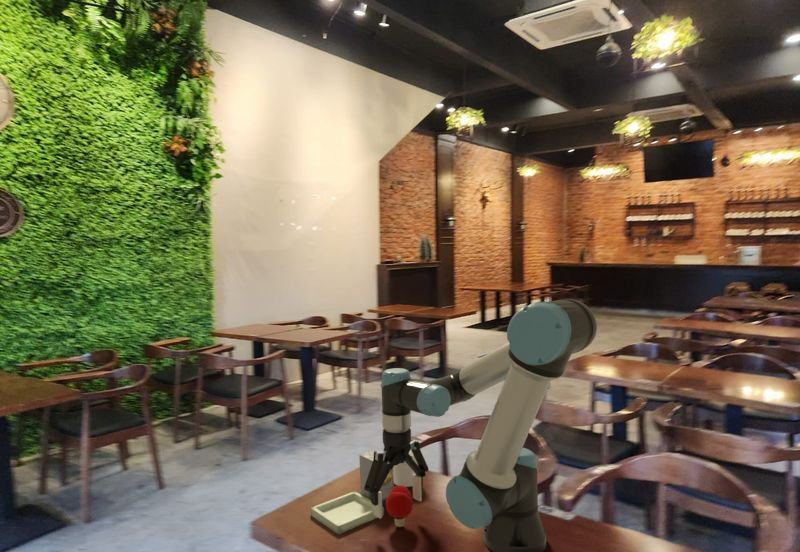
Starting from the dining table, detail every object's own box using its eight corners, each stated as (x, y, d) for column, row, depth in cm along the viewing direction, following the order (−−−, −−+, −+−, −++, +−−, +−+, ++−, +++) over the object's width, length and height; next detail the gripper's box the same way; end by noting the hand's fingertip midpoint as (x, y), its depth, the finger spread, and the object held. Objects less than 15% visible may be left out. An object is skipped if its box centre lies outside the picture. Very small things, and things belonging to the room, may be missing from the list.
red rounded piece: (409, 537, 130) (408, 498, 130) (382, 535, 132) (381, 496, 132) (415, 519, 139) (414, 482, 139) (390, 517, 141) (389, 481, 141)
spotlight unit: (396, 501, 151) (395, 457, 150) (378, 508, 146) (376, 463, 146) (376, 490, 158) (374, 448, 158) (357, 497, 154) (356, 454, 153)
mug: (417, 490, 157) (416, 456, 157) (389, 488, 159) (388, 455, 159) (424, 475, 168) (423, 444, 168) (397, 474, 170) (396, 443, 170)
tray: (384, 515, 142) (383, 507, 142) (338, 534, 133) (338, 526, 133) (354, 498, 153) (354, 491, 153) (310, 515, 143) (310, 507, 143)
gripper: (421, 415, 146) (423, 488, 147) (349, 435, 130) (351, 518, 131) (440, 421, 140) (441, 497, 141) (367, 443, 124) (368, 529, 125)
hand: (398, 507), depth 136 cm, fingers open, 13 cm apart
